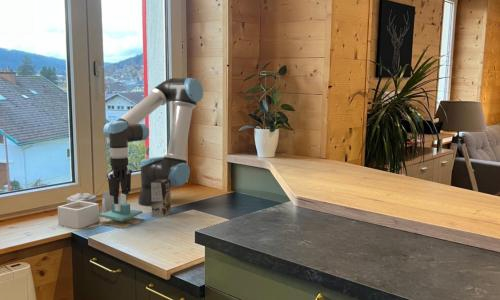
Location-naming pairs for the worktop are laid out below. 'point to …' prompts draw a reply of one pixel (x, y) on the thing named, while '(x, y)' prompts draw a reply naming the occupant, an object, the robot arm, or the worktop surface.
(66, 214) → the storage box
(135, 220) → the cork mat
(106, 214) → the lid
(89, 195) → the lumpy-topped squat cylinder
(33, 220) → the worktop surface
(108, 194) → the grey rectangular block
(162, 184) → the coffee box
